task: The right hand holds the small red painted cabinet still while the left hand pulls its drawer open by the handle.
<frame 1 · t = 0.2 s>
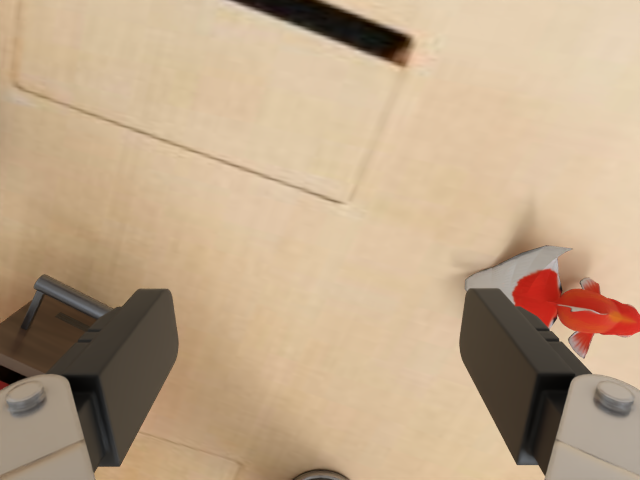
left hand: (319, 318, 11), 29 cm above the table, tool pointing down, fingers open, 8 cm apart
fish: (528, 286, 43), on the table
drawer: (46, 374, 41), point 5 cm above the table, slide at 1.6 cm
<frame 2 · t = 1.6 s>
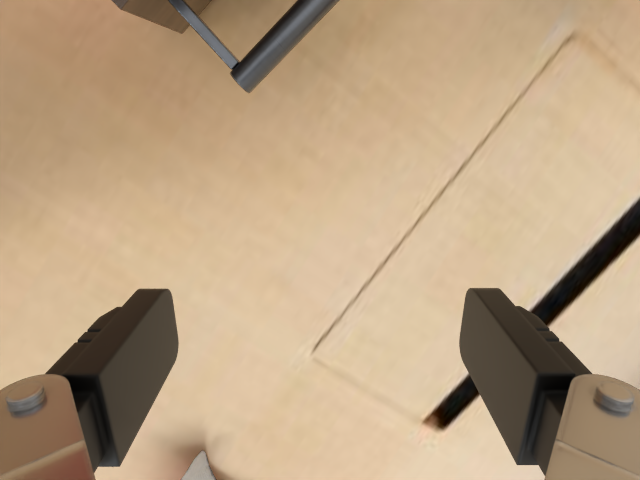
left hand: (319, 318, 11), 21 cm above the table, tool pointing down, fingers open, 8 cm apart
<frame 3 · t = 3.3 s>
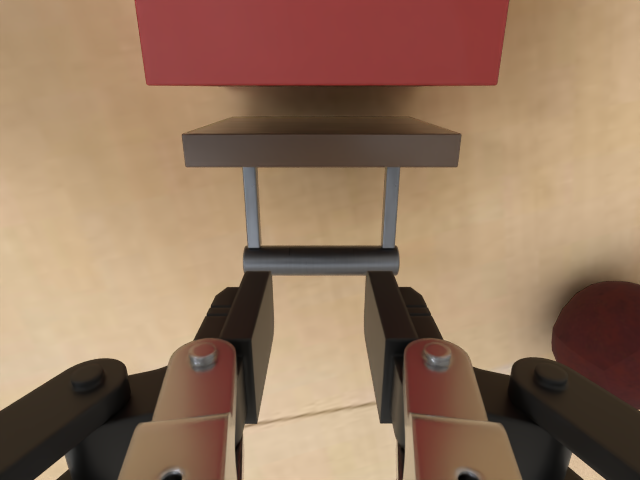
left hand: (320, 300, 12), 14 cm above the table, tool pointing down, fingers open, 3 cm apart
drawer: (321, 32, 17), point 5 cm above the table, slide at 1.6 cm
dark maroon ball: (585, 312, 28), on the table
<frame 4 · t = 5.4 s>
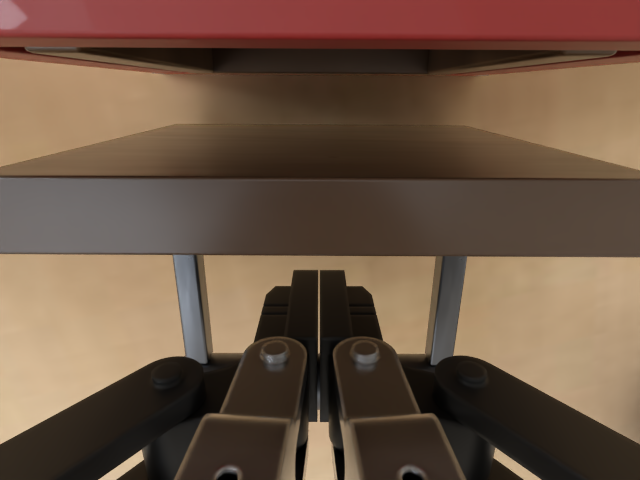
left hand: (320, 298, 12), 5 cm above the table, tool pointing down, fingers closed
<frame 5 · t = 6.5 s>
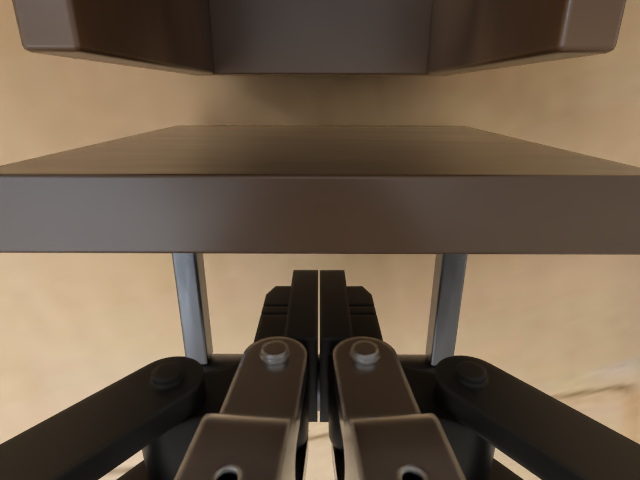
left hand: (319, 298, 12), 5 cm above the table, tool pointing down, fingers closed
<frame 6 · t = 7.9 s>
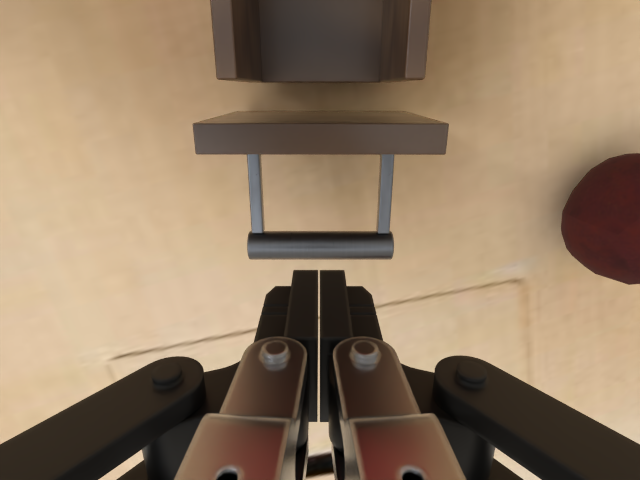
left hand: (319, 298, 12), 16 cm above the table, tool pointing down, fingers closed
drawer: (320, 31, 19), point 6 cm above the table, slide at 8.8 cm
dark maroon ball: (596, 201, 27), on the table
when the right hand's fingers open (6 cm above the table, at t = 8.5 s): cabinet stays where it is, on the table.
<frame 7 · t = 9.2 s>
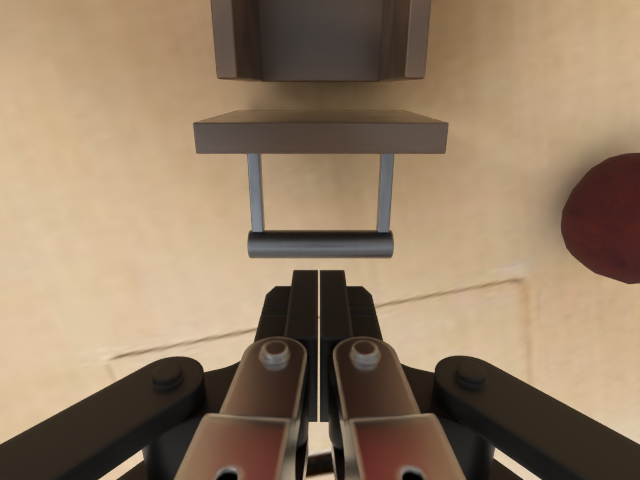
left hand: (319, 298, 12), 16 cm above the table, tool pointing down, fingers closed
drawer: (320, 30, 19), point 5 cm above the table, slide at 8.8 cm
dark maroon ball: (595, 201, 27), on the table
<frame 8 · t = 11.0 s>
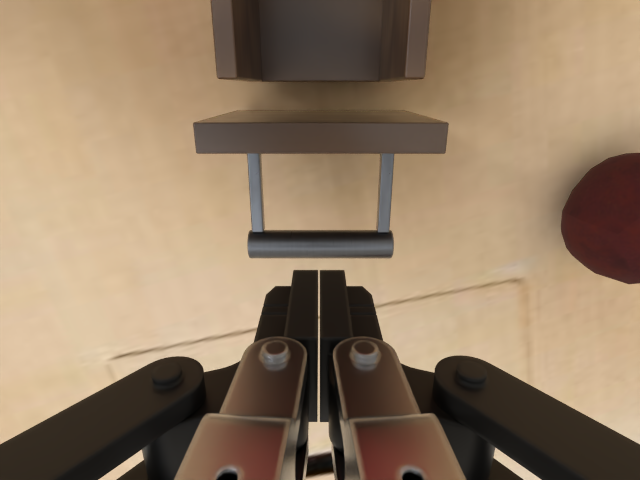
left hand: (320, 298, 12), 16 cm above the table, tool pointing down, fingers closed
drawer: (320, 30, 19), point 5 cm above the table, slide at 8.8 cm
dark maroon ball: (595, 201, 27), on the table
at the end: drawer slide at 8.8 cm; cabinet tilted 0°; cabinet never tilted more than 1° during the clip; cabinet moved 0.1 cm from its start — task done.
